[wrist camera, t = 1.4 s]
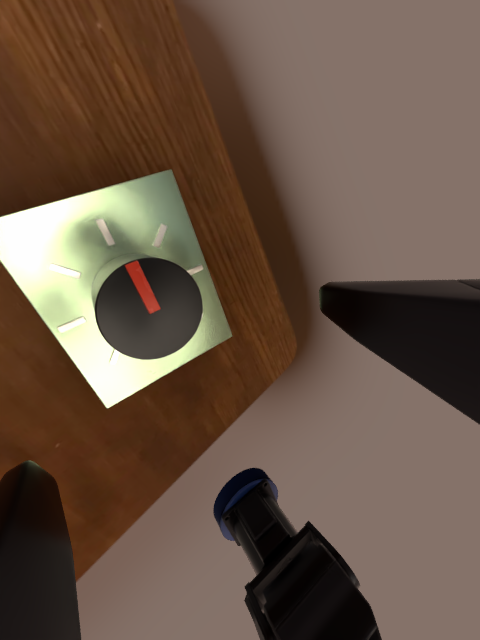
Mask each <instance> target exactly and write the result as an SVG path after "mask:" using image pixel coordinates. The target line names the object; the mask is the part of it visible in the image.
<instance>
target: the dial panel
mask: <svg viewBox="0 0 480 640" xmlns="http://www.w3.org/2000/svg"><path fill="white" fill-rule="evenodd" d="M127 254H142V255H147V256H152V257H156V258H161V259H165V260H169V261H171V262H174V263H176V264H178V265H179V266H181V267H182V268H184V269H185V270H186V271H187V272H188V273H189V274H190V275H191V276H192V277H193V279H194V280H195V282H196V283H197V285H198V287H199V289H200V293H201V296H202V302H203V311H202V318H201V321H200V325H199V327H198V329H197V331H196V333H195V334H194V336H193V337H192V338H191V340H190V341H189V342H188V343H187V344H186V345H185V346H184V347H182V348H181V349H180V350H178V351H177V352H175V353H173V354H171V355H169V356H166V357H163V358H158V359H151V360H142V359H135V358H132V357H128V356H126V355H123V354H122V353H120V352H118V351H116V350H115V349H114V348H112V347H111V346H110V345H109V344H108V343H107V342H106V340H105V339H104V338H103V336H102V335H101V333H100V331H99V329H98V326H97V323H96V318H95V313H94V307H93V301H92V286H93V282H94V279H95V277H96V275H97V274H98V272H99V271H100V269H101V268H102V267H103V266H104V265H105V264H106V263H108V262H109V261H111V260H112V259H114V258H117V257H119V256H122V255H127ZM0 262H1V264H2V265H3V266H4V268H5V269H6V271H7V272H8V273H9V275H10V276H11V277H12V279H13V280H14V282H15V283H16V284H17V286H18V287H19V288H20V290H21V291H22V293H23V294H24V295H25V297H26V298H27V300H28V301H29V302H30V304H31V305H32V306H33V308H34V309H35V311H36V312H37V313H38V315H39V316H40V317H41V319H42V320H43V322H44V323H45V324H46V326H47V327H48V329H49V330H50V331H51V333H52V334H53V335H54V337H55V338H56V340H57V341H58V342H59V344H60V345H61V346H62V348H63V349H64V351H65V352H66V353H67V355H68V356H69V358H70V359H71V360H72V362H73V363H74V364H75V366H76V367H77V369H78V370H79V371H80V373H81V374H82V375H83V377H84V378H85V380H86V381H87V382H88V384H89V385H90V386H91V388H92V389H93V391H94V392H95V393H96V395H97V396H98V398H99V399H100V400H101V402H102V403H103V404H104V406H105V407H106V408H107V409H108V408H110V407H112V406H113V405H115V404H117V403H118V402H120V401H122V400H124V399H125V398H127V397H129V396H130V395H132V394H134V393H136V392H137V391H139V390H141V389H142V388H144V387H146V386H148V385H149V384H151V383H153V382H155V381H156V380H158V379H160V378H161V377H163V376H165V375H167V374H168V373H170V372H172V371H173V370H175V369H177V368H179V367H180V366H182V365H184V364H185V363H187V362H189V361H191V360H192V359H194V358H196V357H198V356H199V355H201V354H203V353H204V352H206V351H208V350H210V349H211V348H213V347H215V346H216V345H218V344H220V343H222V342H223V341H225V340H227V339H228V338H230V337H232V333H231V330H230V328H229V325H228V322H227V319H226V317H225V314H224V311H223V308H222V306H221V303H220V300H219V297H218V295H217V292H216V289H215V287H214V284H213V281H212V278H211V276H210V273H209V270H208V267H207V265H206V262H205V259H204V256H203V254H202V251H201V248H200V246H199V243H198V240H197V237H196V235H195V232H194V229H193V226H192V224H191V221H190V218H189V215H188V213H187V210H186V207H185V205H184V202H183V199H182V196H181V194H180V191H179V188H178V185H177V183H176V180H175V177H174V174H173V172H172V169H169V170H165V171H162V172H158V173H154V174H151V175H147V176H144V177H140V178H136V179H133V180H129V181H125V182H122V183H118V184H115V185H111V186H107V187H104V188H100V189H96V190H93V191H89V192H86V193H82V194H78V195H75V196H71V197H67V198H64V199H60V200H57V201H53V202H49V203H46V204H42V205H38V206H35V207H31V208H28V209H24V210H20V211H17V212H13V213H9V214H6V215H2V216H0Z"/></svg>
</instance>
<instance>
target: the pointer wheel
mask: <svg viewBox="0 0 480 640" xmlns="http://www.w3.org/2000/svg"><path fill="white" fill-rule="evenodd" d="M92 301H93V307H94V313H95V318H96V323H97V326H98V329H99V331H100V333H101V335H102V336H103V338H104V339H105V340H106V342H107V343H108V344H109V345H110V346H111V347H112V348H114V349H115V350H116V351H118V352H120V353H122V354H123V355H126V356H128V357H132V358H135V359H142V360H151V359H158V358H163V357H166V356H169V355H171V354H173V353H175V352H177V351H178V350H180V349H181V348H182V347H184V346H185V345H186V344H187V343H188V342H189V341H190V340H191V338H192V337H193V336H194V334H195V333H196V331H197V329H198V327H199V325H200V321H201V318H202V311H203V302H202V296H201V293H200V289H199V287H198V285H197V283H196V282H195V280H194V279H193V277H192V276H191V275H190V274H189V273H188V272H187V271H186V270H185V269H184V268H182V267H181V266H179V265H178V264H176V263H174V262H171V261H169V260H165V259H161V258H156V257H152V256H147V255H142V254H127V255H122V256H119V257H117V258H114V259H112V260H111V261H109V262H108V263H106V264H105V265H104V266H103V267H102V268H101V269H100V271H99V272H98V274H97V275H96V277H95V279H94V282H93V286H92Z"/></svg>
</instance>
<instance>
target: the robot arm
mask: <svg viewBox="0 0 480 640" xmlns="http://www.w3.org/2000/svg"><path fill="white" fill-rule="evenodd" d="M319 298H320V309H321V311H322V313H323V314H324V315H325V316H327V317H328V318H329V319H330V320H331V321H333V322H334V323H335V324H336V325H338V326H339V327H340V328H341V329H342V330H343V331H345V332H346V333H347V334H349V335H350V336H351V337H352V338H353V339H355V340H356V341H357V342H359V343H360V344H362V345H363V346H365V347H366V348H368V349H369V350H370V351H372V352H374V353H375V354H376V355H378V356H379V357H381V358H382V359H384V360H385V361H387V362H388V363H390V364H391V365H393V366H394V367H396V368H397V369H398V370H400V371H401V372H403V373H405V374H406V375H407V376H409V377H410V378H412V379H413V380H415V381H416V382H418V383H419V384H421V385H422V386H424V387H425V388H426V389H428V390H429V391H431V392H432V393H434V394H435V395H437V396H438V397H440V398H441V399H443V400H444V401H446V402H447V403H449V404H450V405H452V406H453V407H455V408H456V409H457V410H459V411H461V412H462V413H463V414H465V415H467V416H468V417H469V418H471V419H472V420H474V421H475V422H477V423H478V424H480V279H476V280H475V279H471V280H470V279H469V280H413V281H354V282H329V283H327V284H325V285H323V286H322V287H321V288H320V290H319ZM221 518H222V520H223V522H224V524H225V525H226V527H227V529H228V530H229V532H230V533H231V535H232V537H233V538H234V540H235V541H236V543H237V545H238V546H242V548H243V550H244V552H245V554H246V556H247V558H248V560H249V562H250V564H251V565H252V567H253V569H254V571H255V573H256V575H257V576H256V577H255V578H254V579H253V580H252V581H251V582H250V583H249V582H248V583H247V585H246V586H245V589H246V591H247V595H246V598H245V603H246V605H247V607H248V610H249V612H250V614H251V616H252V619H253V621H254V623H255V626H256V629H257V632H258V635H259V637H260V640H382V639H381V636H380V633H379V630H378V627H377V623H376V621H375V617H374V615H373V612H372V609H371V606H370V605H369V603H368V602H367V600H366V599H365V598H364V596H363V595H362V594H361V592H360V591H359V590H358V588H359V586H360V584H359V581H358V580H357V578H356V576H355V574H354V573H353V571H352V570H351V568H350V567H349V566H348V564H347V563H346V562H345V560H344V559H343V558H342V556H341V555H340V554H339V553H338V552H337V551H336V550H335V548H334V547H333V546H332V545H331V544H330V543H329V542H328V541H327V540H326V539H325V538H324V537H323V536H322V535H321V533H320V532H319V531H318V530H317V529H316V528H315V527H314V526H313V525H312V524H311V523H310V522H309V521H308V522H307V523H306V524H305V526H304V527H303V528H302V529H301V530H300V532H297V530H296V529H295V528H294V526H293V525H292V524H291V522H290V521H289V520H288V518H287V517H286V516H285V514H284V513H283V511H282V510H281V509H280V507H279V506H278V503H277V501H276V498H275V496H274V494H273V491H272V489H271V486H270V484H269V482H268V480H267V479H263V480H262V481H260V482H259V483H258V484H257V485H256V486H255V487H254V488H252V489H251V490H250V491H249V492H248V493H247V494H245V495H244V496H243V497H242V498H241V499H240V500H238V501H237V502H236V503H235V504H234V505H233V506H231V507H230V508H229V509H228V510H227V511H226V512H225V513H224V514H223V515H222V517H221ZM0 640H81V633H80V622H79V612H78V601H77V591H76V581H75V571H74V561H73V553H72V547H71V542H70V537H69V533H68V529H67V524H66V520H65V516H64V511H63V507H62V503H61V498H60V494H59V490H58V485H57V483H56V481H55V479H54V478H53V476H51V475H50V474H49V473H48V472H46V471H45V470H44V469H42V468H41V467H40V466H39V465H37V464H36V463H35V462H33V461H30V460H29V461H25V462H23V463H21V464H19V465H18V466H16V467H14V468H13V469H11V470H9V471H8V472H7V473H6V474H5V475H4V476H3V478H2V479H1V481H0Z"/></svg>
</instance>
